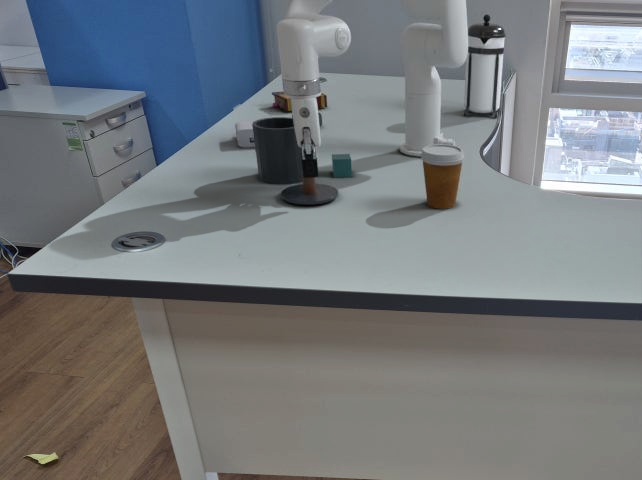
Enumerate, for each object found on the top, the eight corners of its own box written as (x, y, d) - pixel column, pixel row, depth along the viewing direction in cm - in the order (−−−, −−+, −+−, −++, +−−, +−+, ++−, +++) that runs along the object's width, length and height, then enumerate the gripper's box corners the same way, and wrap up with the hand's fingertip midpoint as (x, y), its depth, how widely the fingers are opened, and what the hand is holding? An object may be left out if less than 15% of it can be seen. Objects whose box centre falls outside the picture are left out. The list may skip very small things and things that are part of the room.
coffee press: (514, 116, 221) (523, 16, 204) (476, 120, 213) (482, 17, 196) (484, 105, 232) (489, 10, 216) (447, 110, 225) (449, 11, 208)
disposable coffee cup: (431, 214, 140) (432, 157, 134) (413, 200, 147) (413, 145, 140) (470, 208, 144) (473, 153, 137) (450, 194, 151) (452, 141, 144)
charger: (268, 132, 192) (273, 146, 180) (235, 134, 189) (238, 147, 177) (266, 115, 189) (271, 128, 178) (233, 117, 187) (236, 129, 175)
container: (307, 168, 164) (303, 116, 157) (309, 183, 154) (304, 128, 148) (259, 170, 162) (253, 117, 155) (258, 184, 152) (251, 129, 145)
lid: (336, 187, 153) (335, 160, 149) (340, 206, 142) (339, 177, 139) (281, 189, 150) (278, 162, 147) (281, 208, 140) (278, 179, 136)
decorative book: (328, 108, 220) (327, 93, 217) (282, 113, 212) (281, 97, 210) (314, 102, 228) (313, 87, 225) (269, 106, 220) (268, 90, 217)
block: (350, 171, 163) (349, 153, 161) (352, 176, 160) (351, 158, 157) (332, 172, 162) (331, 154, 160) (333, 177, 159) (332, 159, 156)
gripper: (322, 96, 127) (329, 182, 137) (318, 78, 141) (325, 157, 151) (283, 97, 126) (293, 184, 136) (283, 79, 140) (292, 158, 150)
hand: (310, 169), depth 143 cm, fingers open, 9 cm apart
